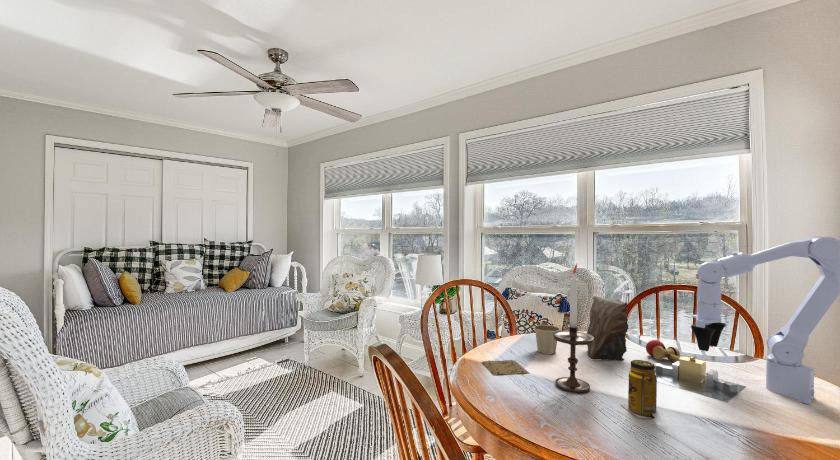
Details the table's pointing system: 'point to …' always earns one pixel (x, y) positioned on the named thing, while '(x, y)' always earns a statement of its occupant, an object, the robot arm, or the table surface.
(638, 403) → the condiment
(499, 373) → the brown stone coaster
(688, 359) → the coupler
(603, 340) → the brown rock block
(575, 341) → the candlestick
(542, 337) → the flower pot
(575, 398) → the table surface
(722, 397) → the shaft base
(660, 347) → the kendama
